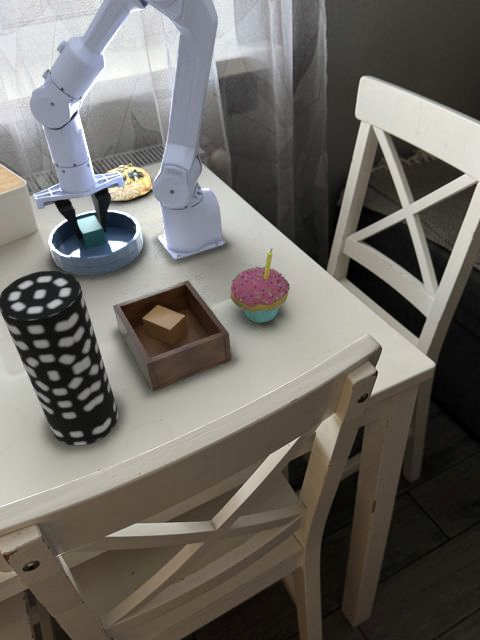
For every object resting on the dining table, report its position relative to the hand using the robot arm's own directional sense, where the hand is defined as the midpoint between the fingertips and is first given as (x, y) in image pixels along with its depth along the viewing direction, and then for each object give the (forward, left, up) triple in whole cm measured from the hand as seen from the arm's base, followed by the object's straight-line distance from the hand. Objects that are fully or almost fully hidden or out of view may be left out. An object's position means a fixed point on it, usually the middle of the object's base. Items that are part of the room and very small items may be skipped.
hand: (91, 233), depth 104 cm
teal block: (0, 0, -1) cm, 1 cm away
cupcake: (-16, +32, -2) cm, 36 cm away
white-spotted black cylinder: (+13, +40, -2) cm, 42 cm away
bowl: (0, +4, -2) cm, 4 cm away
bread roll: (-11, -14, -2) cm, 18 cm away
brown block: (-2, +30, -1) cm, 30 cm away
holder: (-2, +32, -2) cm, 33 cm away
